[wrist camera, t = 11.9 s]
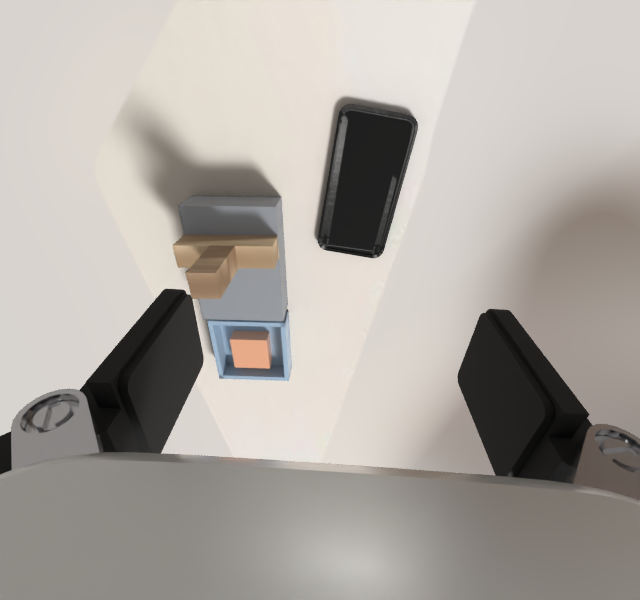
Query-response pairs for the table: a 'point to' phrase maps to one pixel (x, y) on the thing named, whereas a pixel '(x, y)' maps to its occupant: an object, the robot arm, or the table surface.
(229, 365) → the tray
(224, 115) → the table surface
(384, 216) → the phone
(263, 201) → the gray rectangular block
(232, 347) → the tile
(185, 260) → the scraper
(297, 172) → the table surface
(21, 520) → the robot arm
